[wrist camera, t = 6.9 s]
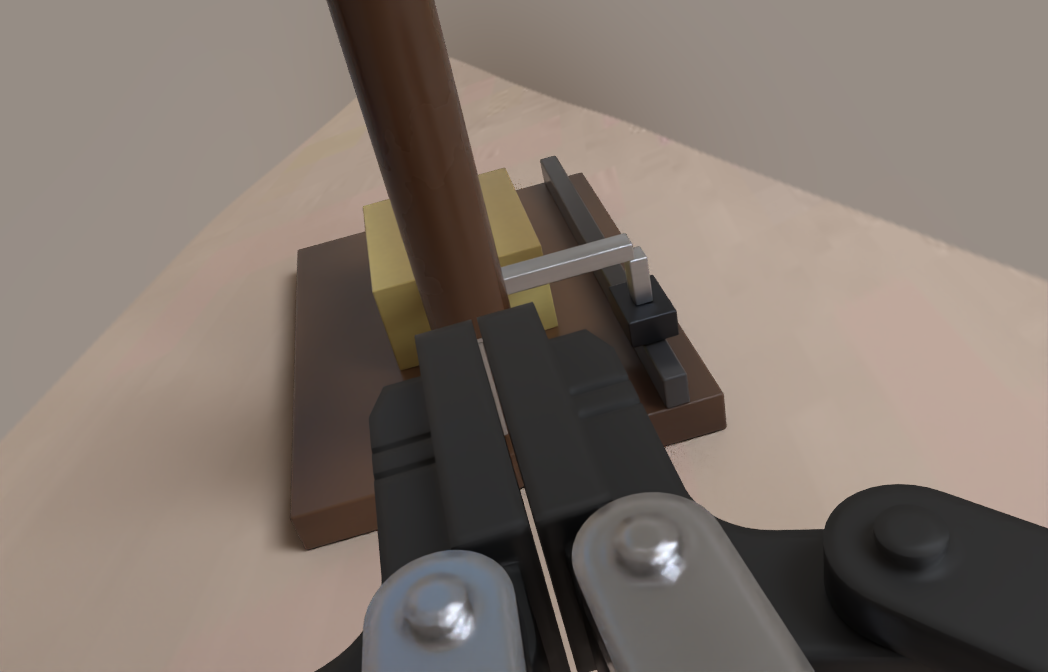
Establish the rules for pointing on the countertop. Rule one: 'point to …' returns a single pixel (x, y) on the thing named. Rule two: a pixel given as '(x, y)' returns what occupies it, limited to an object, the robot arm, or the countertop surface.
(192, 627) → the countertop surface
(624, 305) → the wooden handled slicer
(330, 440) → the butter board
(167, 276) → the countertop surface
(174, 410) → the countertop surface
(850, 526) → the robot arm
